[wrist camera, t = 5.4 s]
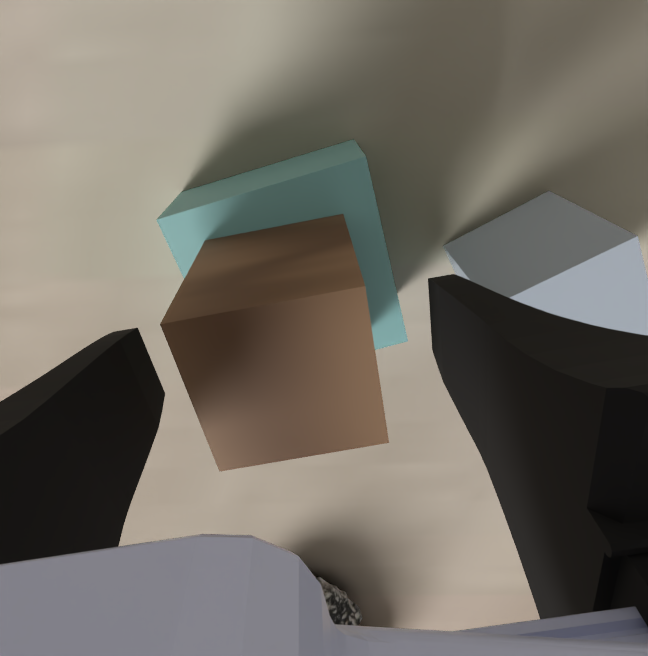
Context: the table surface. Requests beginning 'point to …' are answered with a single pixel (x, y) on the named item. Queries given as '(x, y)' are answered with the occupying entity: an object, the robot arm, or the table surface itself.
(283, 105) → the table surface
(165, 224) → the teal slab
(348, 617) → the rock
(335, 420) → the walnut block
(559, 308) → the bluegrey block
